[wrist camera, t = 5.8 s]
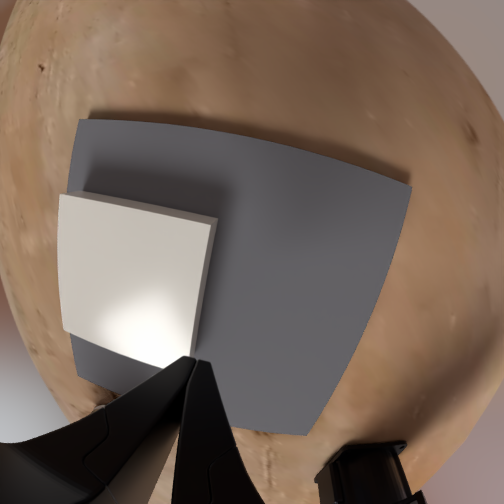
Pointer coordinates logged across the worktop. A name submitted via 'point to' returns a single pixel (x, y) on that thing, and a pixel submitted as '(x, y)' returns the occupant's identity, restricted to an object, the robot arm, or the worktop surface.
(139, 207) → the tile
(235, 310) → the mat
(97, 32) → the worktop surface
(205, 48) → the worktop surface
